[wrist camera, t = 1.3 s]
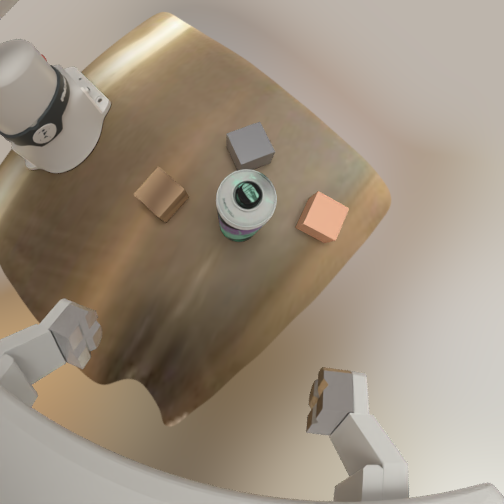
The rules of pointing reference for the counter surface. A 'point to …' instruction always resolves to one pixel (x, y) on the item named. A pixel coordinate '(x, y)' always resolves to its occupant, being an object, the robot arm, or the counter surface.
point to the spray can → (244, 204)
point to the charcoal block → (250, 147)
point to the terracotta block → (322, 217)
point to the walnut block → (161, 194)
